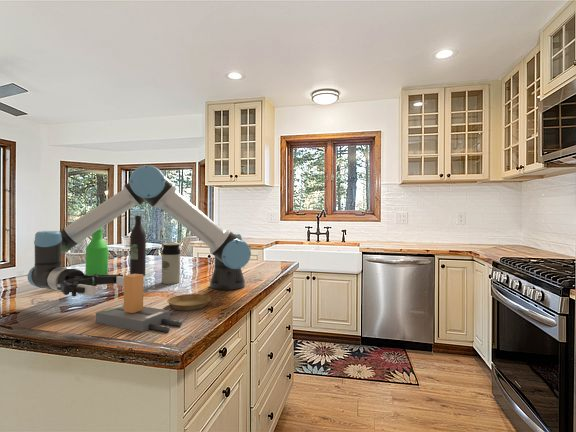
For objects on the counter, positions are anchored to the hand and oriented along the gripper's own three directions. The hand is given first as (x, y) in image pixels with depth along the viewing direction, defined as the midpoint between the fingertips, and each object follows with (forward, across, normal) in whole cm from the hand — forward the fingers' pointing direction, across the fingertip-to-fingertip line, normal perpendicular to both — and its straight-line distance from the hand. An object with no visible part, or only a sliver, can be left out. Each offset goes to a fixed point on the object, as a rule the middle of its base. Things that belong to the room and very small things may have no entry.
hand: (114, 286), depth 106 cm
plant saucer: (+12, -21, -10) cm, 26 cm away
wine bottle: (-45, -52, -10) cm, 69 cm away
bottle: (-50, -34, -10) cm, 61 cm away
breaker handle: (+8, 0, -7) cm, 10 cm away
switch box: (+11, 0, -10) cm, 15 cm away
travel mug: (-20, -48, -10) cm, 53 cm away
